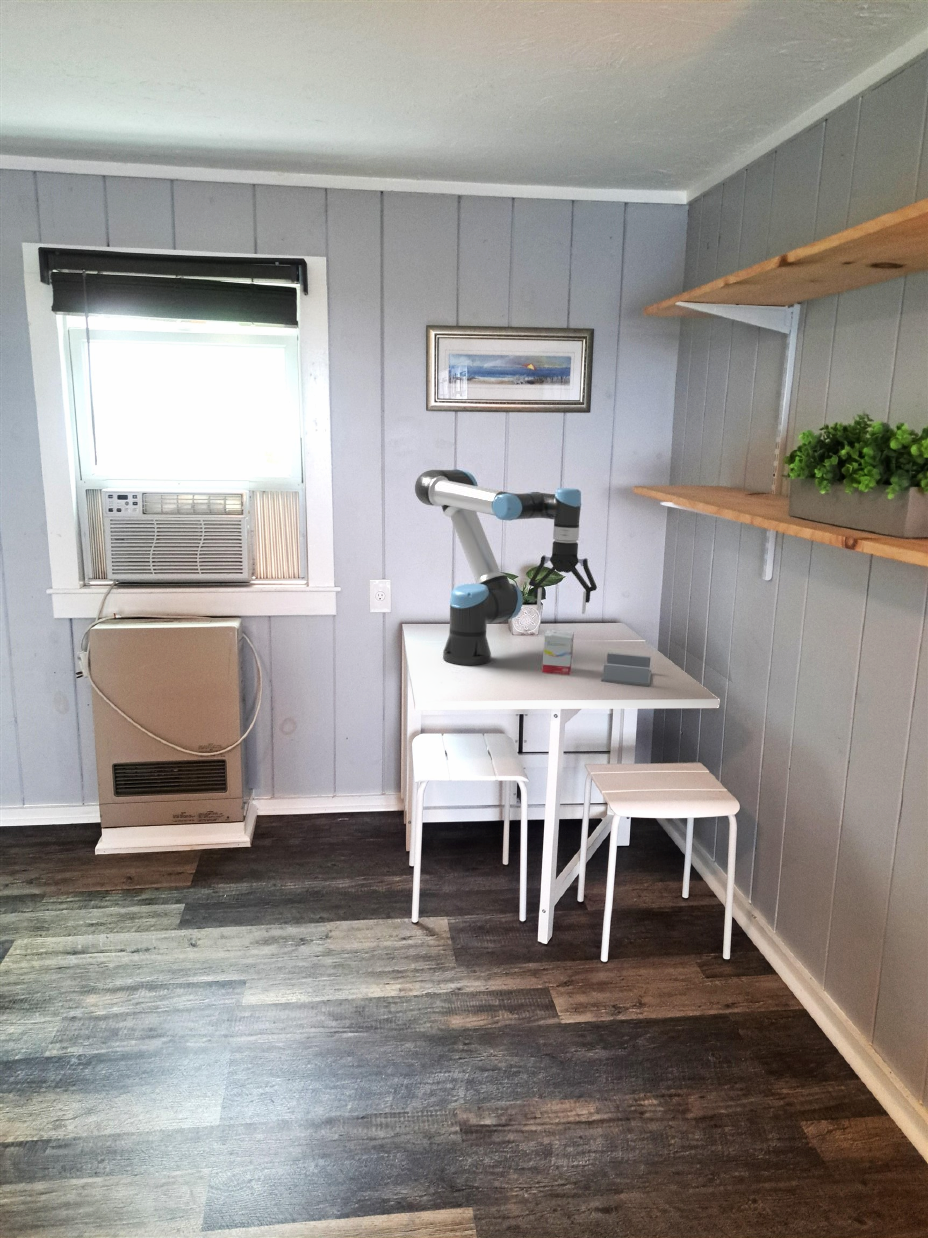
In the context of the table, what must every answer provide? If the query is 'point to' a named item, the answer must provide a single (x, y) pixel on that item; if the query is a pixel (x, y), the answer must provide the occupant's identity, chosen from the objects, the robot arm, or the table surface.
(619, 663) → the channel holder
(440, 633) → the table surface
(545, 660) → the ink box
